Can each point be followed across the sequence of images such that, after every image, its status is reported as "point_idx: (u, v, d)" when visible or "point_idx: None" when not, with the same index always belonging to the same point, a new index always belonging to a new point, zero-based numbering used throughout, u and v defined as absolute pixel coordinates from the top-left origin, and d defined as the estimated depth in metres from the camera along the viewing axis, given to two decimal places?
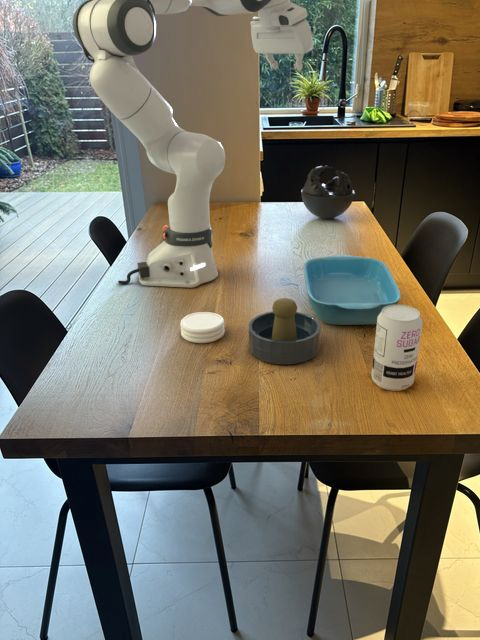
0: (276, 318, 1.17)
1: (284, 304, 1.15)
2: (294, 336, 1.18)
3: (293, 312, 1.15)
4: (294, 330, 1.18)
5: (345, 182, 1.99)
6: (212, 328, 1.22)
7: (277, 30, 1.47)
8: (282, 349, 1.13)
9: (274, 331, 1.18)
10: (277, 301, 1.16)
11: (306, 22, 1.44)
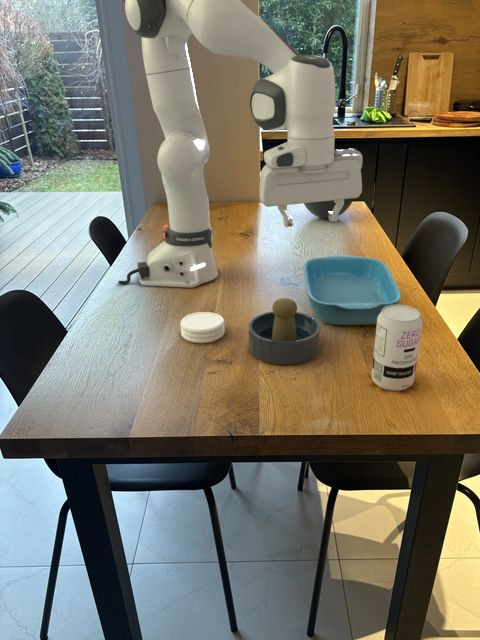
0: (276, 318, 1.17)
1: (284, 304, 1.15)
2: (294, 336, 1.18)
3: (293, 312, 1.15)
4: (294, 330, 1.18)
5: None
6: (212, 328, 1.22)
7: None
8: (282, 349, 1.13)
9: (274, 331, 1.18)
10: (277, 301, 1.16)
11: (266, 172, 1.03)
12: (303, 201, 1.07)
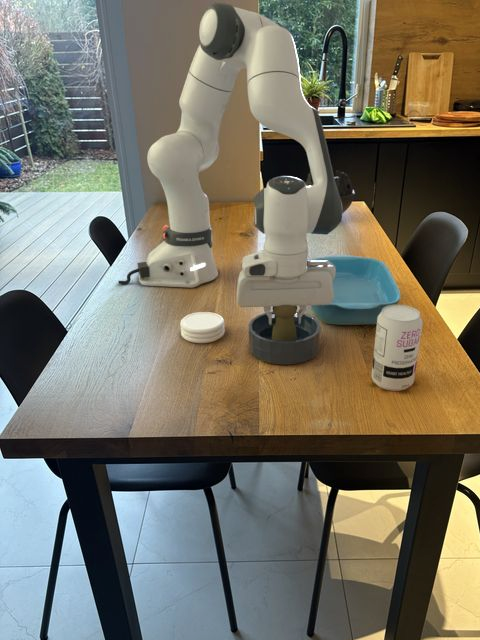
0: (276, 318, 1.17)
1: None
2: (294, 336, 1.18)
3: (293, 312, 1.15)
4: (294, 330, 1.18)
5: (345, 182, 1.99)
6: (212, 328, 1.22)
7: None
8: (282, 349, 1.13)
9: (274, 331, 1.18)
10: None
11: (241, 277, 1.11)
12: (275, 305, 1.14)
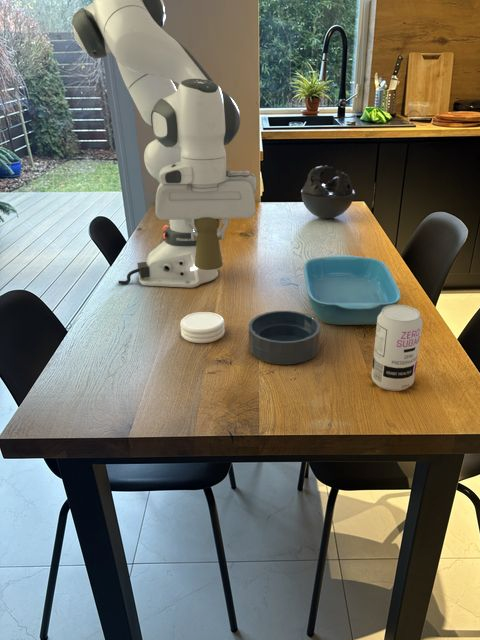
0: (198, 233, 1.14)
1: (204, 217, 1.12)
2: (217, 252, 1.16)
3: (214, 225, 1.13)
4: (217, 246, 1.16)
5: (345, 182, 1.99)
6: (212, 328, 1.22)
7: None
8: (282, 349, 1.13)
9: (197, 247, 1.16)
10: None
11: (158, 186, 1.08)
12: (196, 217, 1.12)
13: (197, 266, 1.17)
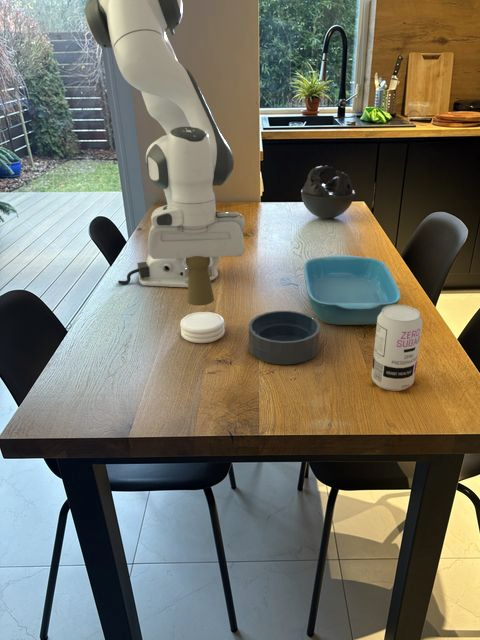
0: (189, 270, 1.19)
1: (195, 256, 1.17)
2: (208, 288, 1.20)
3: (205, 264, 1.17)
4: (208, 282, 1.20)
5: (345, 182, 1.99)
6: (212, 328, 1.22)
7: None
8: (282, 349, 1.13)
9: (189, 284, 1.20)
10: None
11: None
12: (187, 256, 1.16)
13: (189, 302, 1.21)
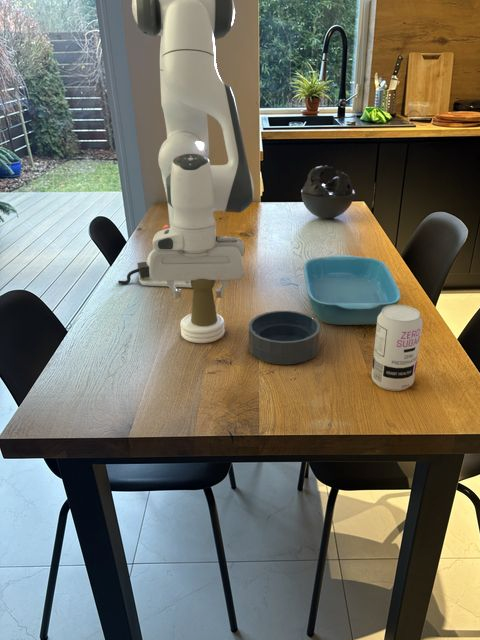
0: (194, 292, 1.21)
1: None
2: (212, 309, 1.23)
3: (210, 286, 1.20)
4: (212, 304, 1.23)
5: (345, 182, 1.99)
6: (212, 329, 1.22)
7: None
8: (282, 349, 1.13)
9: (193, 304, 1.23)
10: None
11: (152, 251, 1.16)
12: (187, 279, 1.19)
13: (193, 322, 1.24)
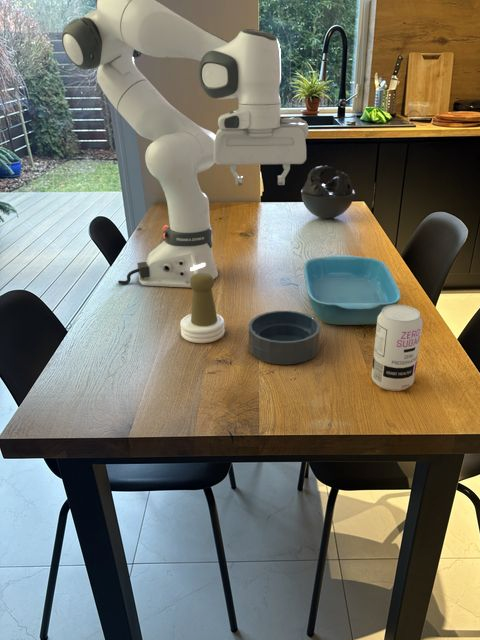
0: (194, 292, 1.21)
1: (199, 278, 1.19)
2: (212, 309, 1.23)
3: (209, 286, 1.20)
4: (212, 304, 1.23)
5: (345, 182, 1.99)
6: (212, 329, 1.22)
7: None
8: (282, 349, 1.13)
9: (193, 305, 1.23)
10: (194, 275, 1.21)
11: (217, 132, 1.16)
12: (250, 162, 1.20)
13: (193, 322, 1.24)
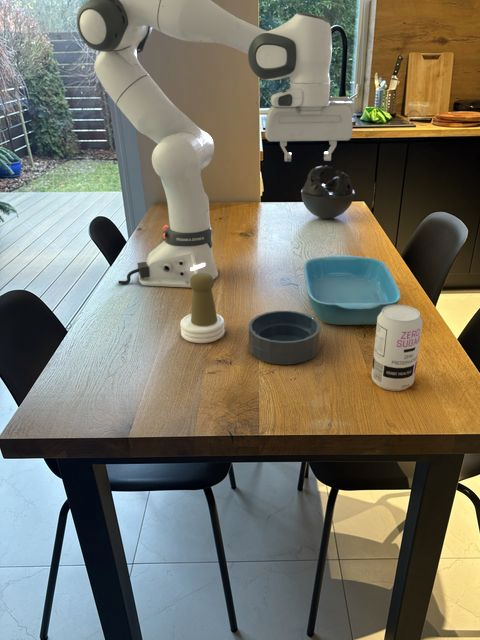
0: (194, 292, 1.21)
1: (199, 278, 1.19)
2: (212, 309, 1.23)
3: (209, 286, 1.20)
4: (212, 304, 1.23)
5: (345, 182, 1.99)
6: (212, 329, 1.22)
7: None
8: (282, 349, 1.13)
9: (193, 305, 1.23)
10: (194, 275, 1.21)
11: (270, 110, 1.24)
12: (300, 139, 1.27)
13: (193, 322, 1.24)
